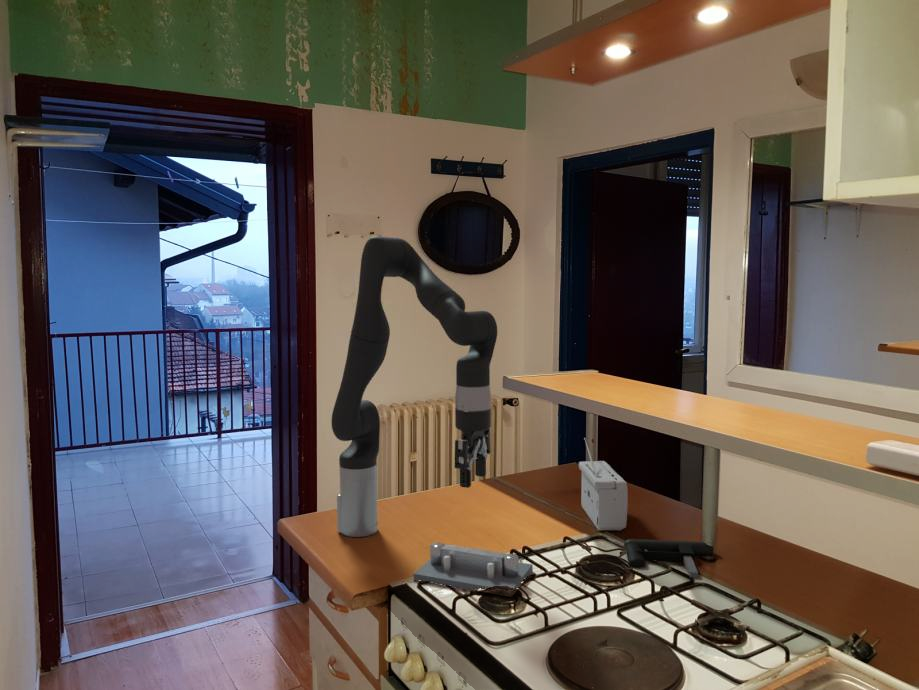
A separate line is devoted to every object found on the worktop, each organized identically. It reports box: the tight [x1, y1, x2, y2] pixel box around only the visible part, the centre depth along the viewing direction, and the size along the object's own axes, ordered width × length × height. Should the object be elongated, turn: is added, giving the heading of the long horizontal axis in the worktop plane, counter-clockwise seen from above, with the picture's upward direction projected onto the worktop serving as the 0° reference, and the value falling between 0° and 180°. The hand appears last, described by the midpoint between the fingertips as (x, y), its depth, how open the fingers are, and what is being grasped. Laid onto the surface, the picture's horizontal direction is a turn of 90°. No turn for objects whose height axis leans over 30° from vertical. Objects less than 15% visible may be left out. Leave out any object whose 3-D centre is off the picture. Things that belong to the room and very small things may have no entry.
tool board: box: [412, 556, 534, 592], centre depth 151 cm, size 22×14×4 cm, turn 67°
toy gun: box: [623, 538, 714, 579], centre depth 157 cm, size 3×20×16 cm
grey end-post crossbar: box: [429, 542, 520, 578], centre depth 151 cm, size 20×3×4 cm, turn 67°
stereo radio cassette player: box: [578, 437, 629, 532], centre depth 185 cm, size 21×8×20 cm, turn 3°
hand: (473, 481), depth 149 cm, fingers open, 8 cm apart
